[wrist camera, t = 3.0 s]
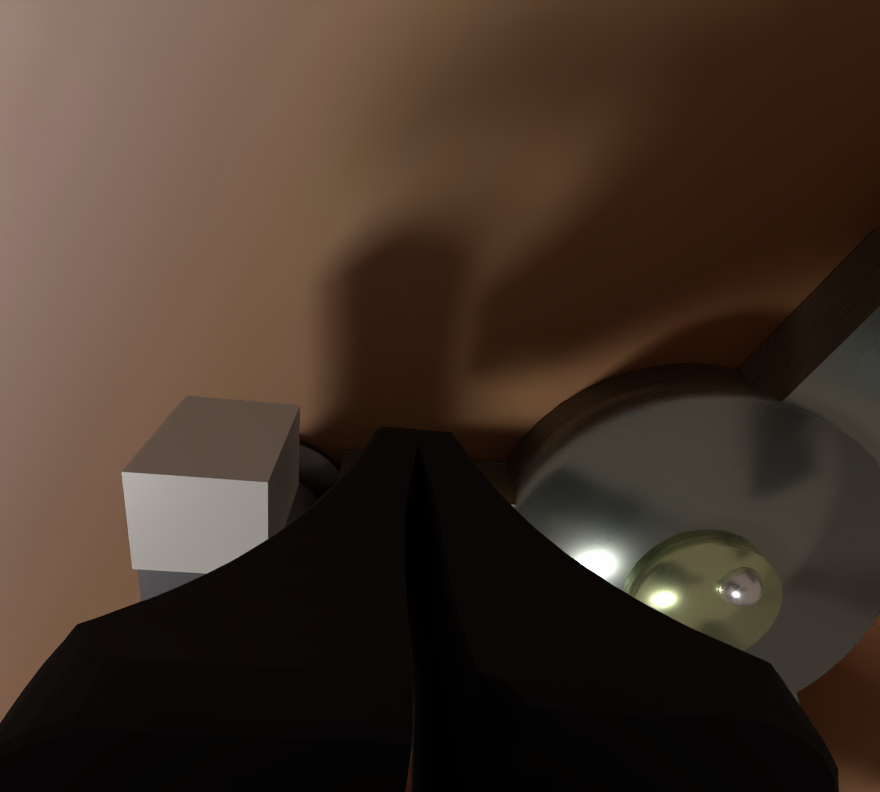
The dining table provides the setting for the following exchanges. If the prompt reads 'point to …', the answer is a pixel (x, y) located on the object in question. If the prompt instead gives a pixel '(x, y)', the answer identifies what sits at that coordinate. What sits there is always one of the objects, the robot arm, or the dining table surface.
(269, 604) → the robot arm
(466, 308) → the dining table surface
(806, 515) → the levelling base
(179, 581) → the post
